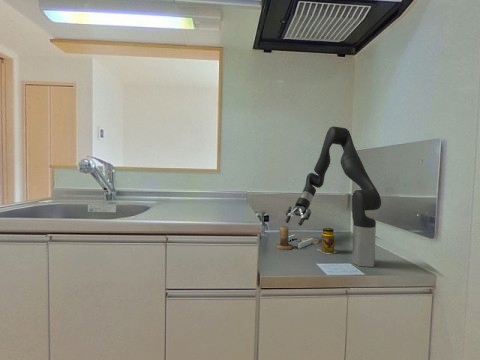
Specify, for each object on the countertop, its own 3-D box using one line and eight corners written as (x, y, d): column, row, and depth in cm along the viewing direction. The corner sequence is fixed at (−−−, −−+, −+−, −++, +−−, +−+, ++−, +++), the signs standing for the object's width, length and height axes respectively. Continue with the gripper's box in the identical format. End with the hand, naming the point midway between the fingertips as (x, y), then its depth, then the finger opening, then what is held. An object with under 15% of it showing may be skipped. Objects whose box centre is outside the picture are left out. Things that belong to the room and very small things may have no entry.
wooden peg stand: (293, 250, 142) (293, 229, 142) (276, 249, 143) (275, 229, 143) (291, 245, 151) (291, 225, 151) (275, 244, 152) (275, 225, 152)
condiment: (328, 254, 135) (328, 230, 134) (315, 250, 142) (315, 227, 142) (338, 252, 139) (338, 229, 138) (325, 248, 146) (325, 225, 145)
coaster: (320, 244, 153) (320, 243, 153) (301, 243, 154) (301, 242, 154) (318, 239, 163) (318, 238, 162) (301, 238, 164) (301, 237, 164)
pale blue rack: (293, 238, 165) (293, 234, 164) (313, 242, 155) (313, 238, 155) (279, 243, 155) (279, 239, 155) (299, 248, 145) (299, 243, 145)
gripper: (291, 195, 162) (279, 217, 155) (312, 197, 152) (301, 221, 145) (296, 203, 166) (285, 225, 159) (317, 206, 156) (306, 229, 149)
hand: (292, 223), depth 152 cm, fingers open, 8 cm apart
